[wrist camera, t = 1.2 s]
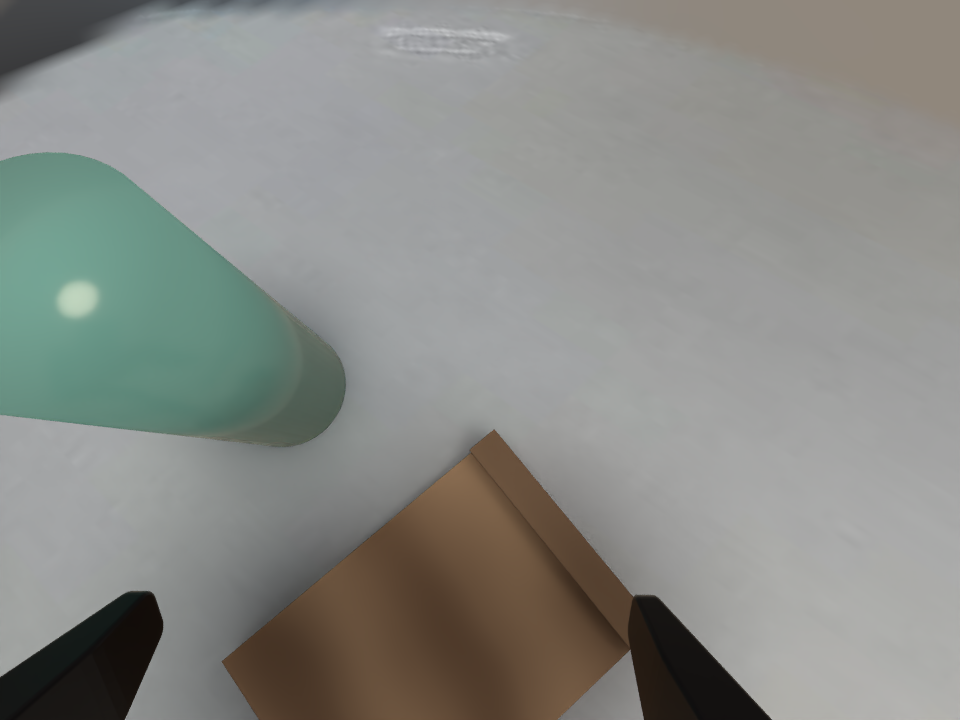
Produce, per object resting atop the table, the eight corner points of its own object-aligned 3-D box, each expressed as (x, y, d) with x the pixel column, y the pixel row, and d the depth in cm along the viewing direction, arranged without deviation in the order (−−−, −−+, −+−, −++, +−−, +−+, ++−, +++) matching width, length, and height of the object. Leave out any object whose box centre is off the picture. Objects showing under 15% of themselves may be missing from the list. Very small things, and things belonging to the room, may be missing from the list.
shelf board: (381, 864, 20) (352, 977, 15) (239, 648, 21) (177, 694, 17) (640, 617, 22) (681, 655, 17) (491, 437, 23) (494, 429, 19)
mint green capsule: (271, 472, 23) (-36, 474, 9) (204, 379, 24) (-164, 258, 10) (369, 394, 24) (218, 292, 10) (300, 307, 25) (77, 106, 11)
